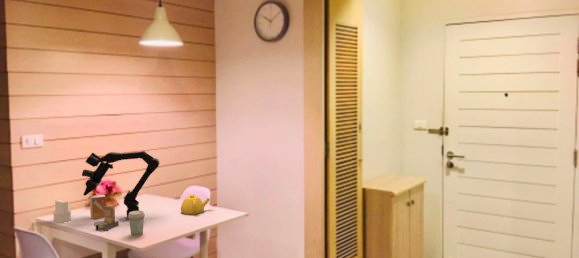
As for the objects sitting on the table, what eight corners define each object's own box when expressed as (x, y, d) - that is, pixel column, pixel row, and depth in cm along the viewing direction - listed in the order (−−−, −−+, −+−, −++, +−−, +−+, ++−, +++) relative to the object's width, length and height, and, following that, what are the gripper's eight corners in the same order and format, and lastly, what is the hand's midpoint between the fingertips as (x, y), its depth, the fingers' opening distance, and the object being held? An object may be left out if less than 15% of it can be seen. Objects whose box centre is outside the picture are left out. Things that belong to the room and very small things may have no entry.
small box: (92, 219, 277) (91, 197, 276) (90, 217, 282) (89, 195, 281) (106, 217, 281) (106, 196, 280) (104, 215, 287) (103, 194, 286)
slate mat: (106, 221, 273) (106, 220, 273) (107, 224, 267) (107, 223, 267) (93, 222, 271) (93, 221, 271) (94, 225, 264) (94, 224, 264)
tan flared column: (110, 225, 265) (109, 204, 264) (115, 226, 264) (114, 205, 263) (104, 227, 261) (103, 206, 260) (109, 228, 259) (108, 207, 258)
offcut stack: (103, 228, 260) (103, 222, 259) (108, 229, 258) (108, 222, 258) (98, 230, 256) (97, 224, 256) (103, 231, 255) (102, 224, 254)
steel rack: (110, 224, 266) (109, 220, 266) (118, 225, 264) (118, 221, 264) (95, 230, 256) (95, 225, 256) (104, 231, 254) (104, 226, 254)
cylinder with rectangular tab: (74, 220, 275) (73, 200, 274) (59, 224, 268) (58, 203, 267) (65, 218, 280) (64, 198, 279) (50, 221, 273) (49, 201, 272)
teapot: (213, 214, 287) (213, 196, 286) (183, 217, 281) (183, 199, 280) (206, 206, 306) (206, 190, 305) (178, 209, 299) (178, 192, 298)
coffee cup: (138, 237, 243) (137, 215, 242) (125, 236, 246) (124, 213, 245) (148, 233, 251) (148, 211, 249) (135, 231, 254) (135, 209, 253)
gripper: (91, 161, 282) (76, 183, 281) (85, 166, 264) (69, 189, 263) (108, 171, 285) (93, 193, 284) (103, 176, 267) (87, 199, 266)
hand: (85, 193), depth 274 cm, fingers open, 9 cm apart
